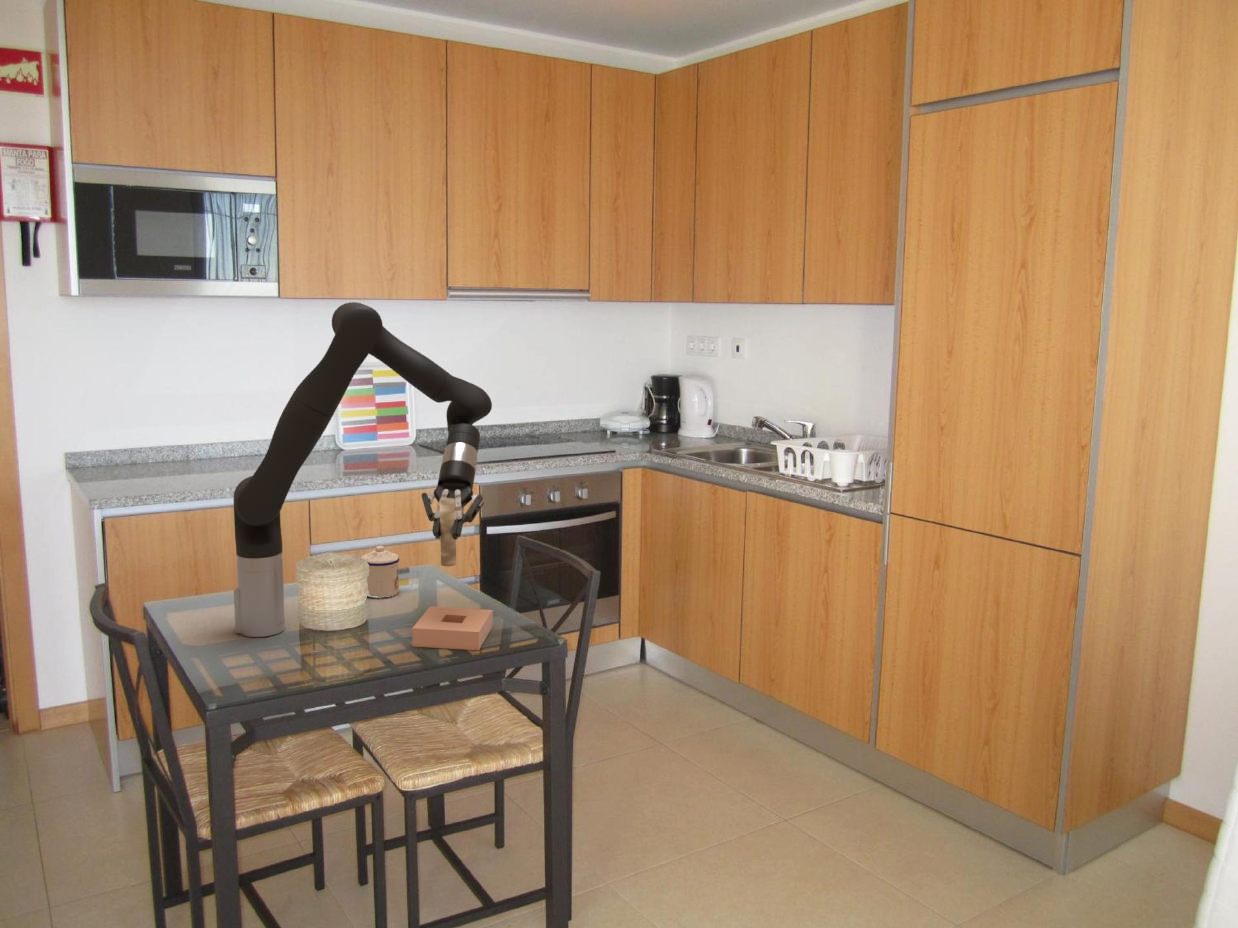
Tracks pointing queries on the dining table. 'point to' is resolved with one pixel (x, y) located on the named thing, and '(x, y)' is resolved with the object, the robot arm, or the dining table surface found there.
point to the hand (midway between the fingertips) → (445, 536)
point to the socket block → (452, 628)
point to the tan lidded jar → (382, 572)
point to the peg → (447, 532)
